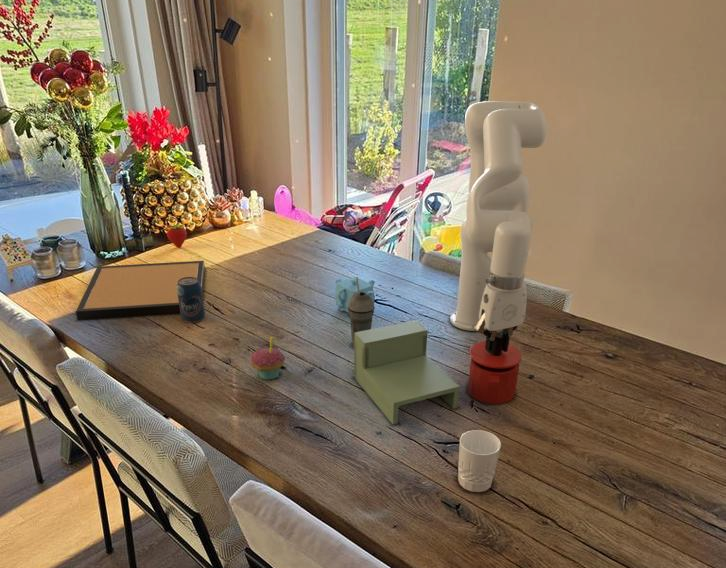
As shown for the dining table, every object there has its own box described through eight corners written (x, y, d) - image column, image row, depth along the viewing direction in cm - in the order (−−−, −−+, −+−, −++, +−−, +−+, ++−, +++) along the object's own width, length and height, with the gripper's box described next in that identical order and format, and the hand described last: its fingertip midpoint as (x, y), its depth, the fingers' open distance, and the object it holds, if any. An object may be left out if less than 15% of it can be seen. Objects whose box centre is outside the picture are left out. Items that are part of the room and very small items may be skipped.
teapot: (321, 306, 195) (320, 275, 190) (356, 294, 202) (356, 264, 197) (357, 326, 183) (357, 295, 178) (393, 313, 191) (394, 282, 185)
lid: (520, 347, 154) (524, 324, 151) (521, 373, 144) (525, 350, 141) (470, 342, 156) (473, 320, 153) (468, 367, 146) (470, 344, 143)
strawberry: (166, 247, 237) (161, 221, 232) (184, 243, 241) (180, 217, 236) (173, 252, 233) (169, 225, 228) (191, 247, 237) (188, 221, 232)
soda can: (184, 325, 183) (177, 287, 177) (179, 315, 189) (173, 278, 182) (207, 321, 186) (202, 283, 179) (202, 311, 191) (197, 274, 185)
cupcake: (291, 369, 163) (288, 328, 156) (276, 386, 156) (273, 344, 149) (261, 364, 165) (257, 323, 159) (245, 380, 158) (241, 338, 152)
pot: (514, 375, 161) (518, 346, 156) (514, 412, 147) (520, 381, 143) (469, 371, 163) (472, 342, 158) (465, 407, 149) (469, 376, 144)
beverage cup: (371, 353, 170) (372, 284, 160) (345, 350, 172) (344, 281, 161) (376, 340, 176) (377, 273, 166) (350, 337, 178) (350, 271, 167)
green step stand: (457, 407, 149) (462, 360, 142) (392, 424, 143) (394, 376, 136) (413, 364, 166) (416, 319, 158) (354, 377, 160) (354, 332, 153)
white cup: (451, 469, 130) (455, 430, 124) (489, 467, 130) (495, 429, 125) (459, 495, 123) (464, 455, 118) (499, 493, 124) (505, 453, 118)
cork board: (200, 312, 191) (205, 268, 220) (199, 303, 189) (203, 260, 219) (77, 320, 186) (99, 274, 215) (75, 311, 184) (97, 266, 213)
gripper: (484, 292, 133) (475, 365, 144) (546, 279, 139) (533, 351, 149) (465, 278, 139) (458, 350, 149) (526, 267, 145) (515, 337, 155)
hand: (496, 350), depth 149 cm, fingers closed on lid, 2 cm apart
